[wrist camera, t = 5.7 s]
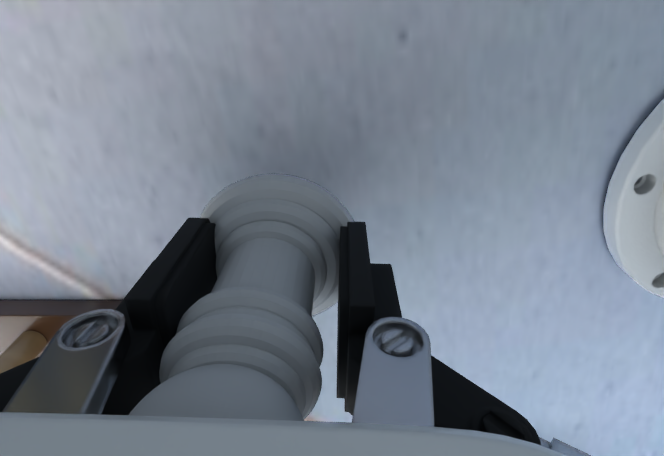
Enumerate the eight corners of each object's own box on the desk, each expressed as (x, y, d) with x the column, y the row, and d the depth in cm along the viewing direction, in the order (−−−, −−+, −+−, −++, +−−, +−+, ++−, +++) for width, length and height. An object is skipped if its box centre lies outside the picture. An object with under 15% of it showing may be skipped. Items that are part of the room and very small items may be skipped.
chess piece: (213, 307, 14) (53, 667, 6) (186, 168, 12) (-138, 475, 4) (358, 307, 14) (384, 674, 6) (363, 167, 12) (415, 482, 4)
